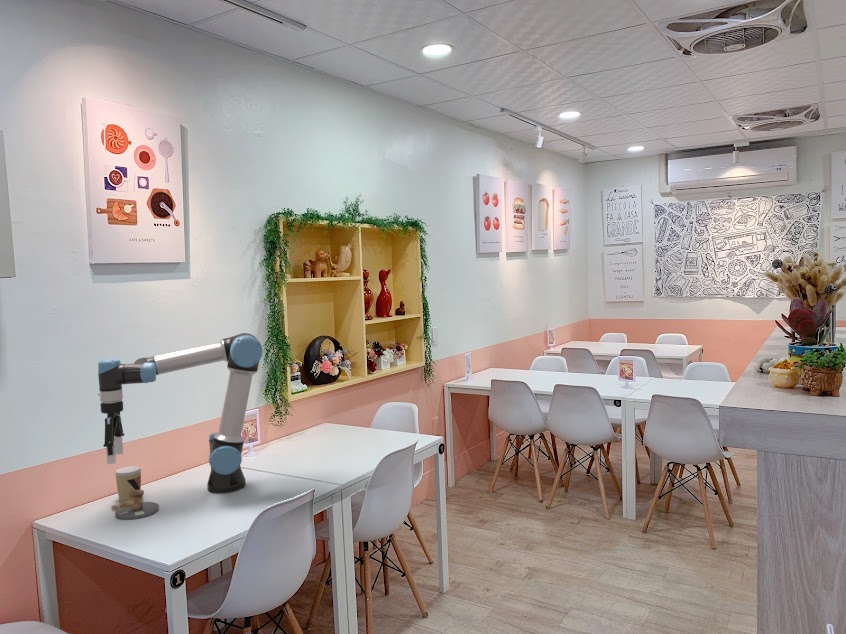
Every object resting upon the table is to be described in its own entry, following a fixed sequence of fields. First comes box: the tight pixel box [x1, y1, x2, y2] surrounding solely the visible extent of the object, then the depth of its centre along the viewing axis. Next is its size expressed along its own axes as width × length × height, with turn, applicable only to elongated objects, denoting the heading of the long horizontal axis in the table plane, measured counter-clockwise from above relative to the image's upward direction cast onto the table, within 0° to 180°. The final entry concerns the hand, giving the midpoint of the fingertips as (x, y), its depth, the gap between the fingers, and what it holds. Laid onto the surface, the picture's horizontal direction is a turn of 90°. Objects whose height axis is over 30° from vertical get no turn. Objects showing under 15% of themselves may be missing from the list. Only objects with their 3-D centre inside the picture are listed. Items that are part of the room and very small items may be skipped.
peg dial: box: [110, 489, 145, 513], centre depth 239 cm, size 12×5×6 cm, turn 144°
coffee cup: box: [114, 465, 142, 503], centre depth 256 cm, size 9×9×12 cm
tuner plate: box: [114, 501, 160, 521], centre depth 242 cm, size 15×15×1 cm
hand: (115, 458), depth 241 cm, fingers open, 12 cm apart
